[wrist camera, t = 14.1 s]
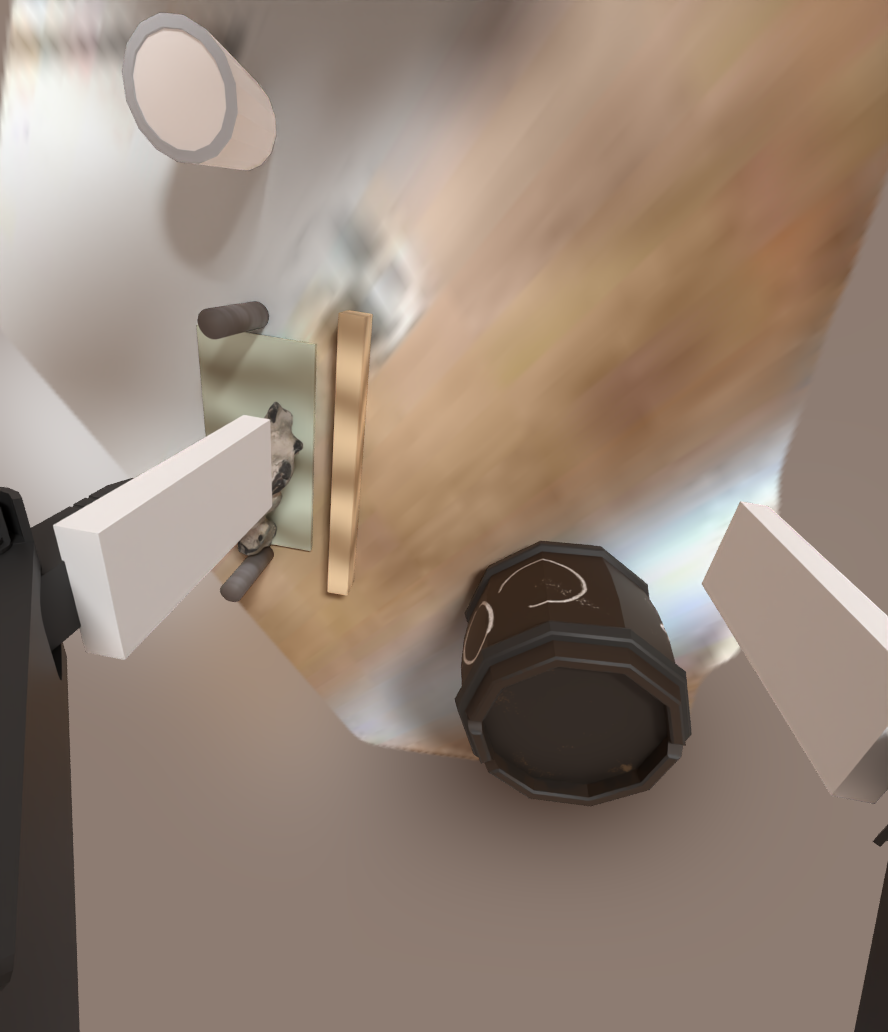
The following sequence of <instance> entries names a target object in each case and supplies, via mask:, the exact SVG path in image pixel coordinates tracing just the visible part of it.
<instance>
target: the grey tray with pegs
mask: <svg viewBox="0 0 888 1032" xmlns="http://www.w3.org/2000/svg"><path fill="white" fill-rule="evenodd" d="M372 316H373V314H368V313H362V312H356V311H350V310H347V311H343V312H340V313H339V316H338V341H337V366H336V391H335V416H334V441H333V465H332V490H331V515H330V540H329V565H328V590H327V592H330V593H335V594H341V595H346V596H347V595H348V593H349V591H350V589H351V587H352V584H353V582H354V574H355V559H356V545H357V531H358V517H359V502H360V488H361V474H362V459H363V445H364V431H365V416H366V402H367V388H368V374H369V359H370V345H371V331H372ZM268 320H269V314H268V311H267V309H266V307H265V306H264V305H263V304H261V303H259V302H247V303H241V304H234V305H228V306H221V307H214V308H208V309H204V310H202V311H201V312H200V314H199V316H198V325H196V327H197V338H198V350H199V362H200V374H201V385H202V397H203V409H204V421H205V432H206V436H208V435H210V434H212V433H213V432H215V431H217V430H219V429H220V428H222V427H224V426H225V425H227V424H229V423H231V422H232V421H234V420H236V419H238V418H239V417H241V416H243V415H247V416H253V417H259V418H264V417H265V416H266V414H267V412H268V410H269V408H270V407H271V406H272V404H273V403H274V402H278V403H279V404H280V405H281V407H282V408H284V409H286V410H288V411H289V412H291V414H292V415H293V425H292V433H293V435H294V436H295V437H296V438H297V439H299V440H300V441H301V442H302V443H303V449H302V450H301V451H299V454H297V455H295V457H294V473H293V476H292V478H291V480H290V481H289V483H288V484H287V485H286V486H285V487H284V488H283V489H282V490H281V493H282V496H283V497H282V499H281V502H280V504H279V505H278V506H277V507H276V508H275V509H274V511H273V512H269V513H267V514H266V515H265V518H267V519H268V520H270V521H273V522H274V523H275V525H276V526H277V531H276V535H275V536H274V537H273V539H272V543H271V544H274V545H280V546H285V547H291V548H296V549H302V550H307V551H311V550H312V530H313V483H314V436H315V389H316V344H313V343H307V342H301V341H295V340H289V339H283V338H277V337H271V336H266V335H260V334H254V333H248V332H247V331H251V330H254V329H258V328H262V327H264V326H266V324H267V323H268ZM273 557H274V553H273V550H272V549H271V548H270V547H269V546H266V547H264V548H263V549H262V550H261V551H260V552H259V553H257V554H254V555H249V556H248V557H247V558H246V559H245V560H244V561H243V562H242V564H241V565H240V566H239V567H238V568H237V569H236V570H235V572H234V573H233V574H232V575H231V576H230V577H229V578H228V580H227V581H226V582H225V583H224V584H223V585H222V586H221V588H220V592H221V595H222V596H223V597H224V598H225V599H226V600H228V601H231V602H237V601H239V600H240V599H241V598H242V597H243V595H244V594H245V593H246V591H247V590H248V589H249V588H250V586H251V585H252V584H253V583H254V581H255V580H256V579H257V578H258V576H259V575H260V574H261V572H262V571H263V570H264V569H265V567H266V566H267V565H268V564H269V562H270V561H271V560H272V559H273Z"/></svg>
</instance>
